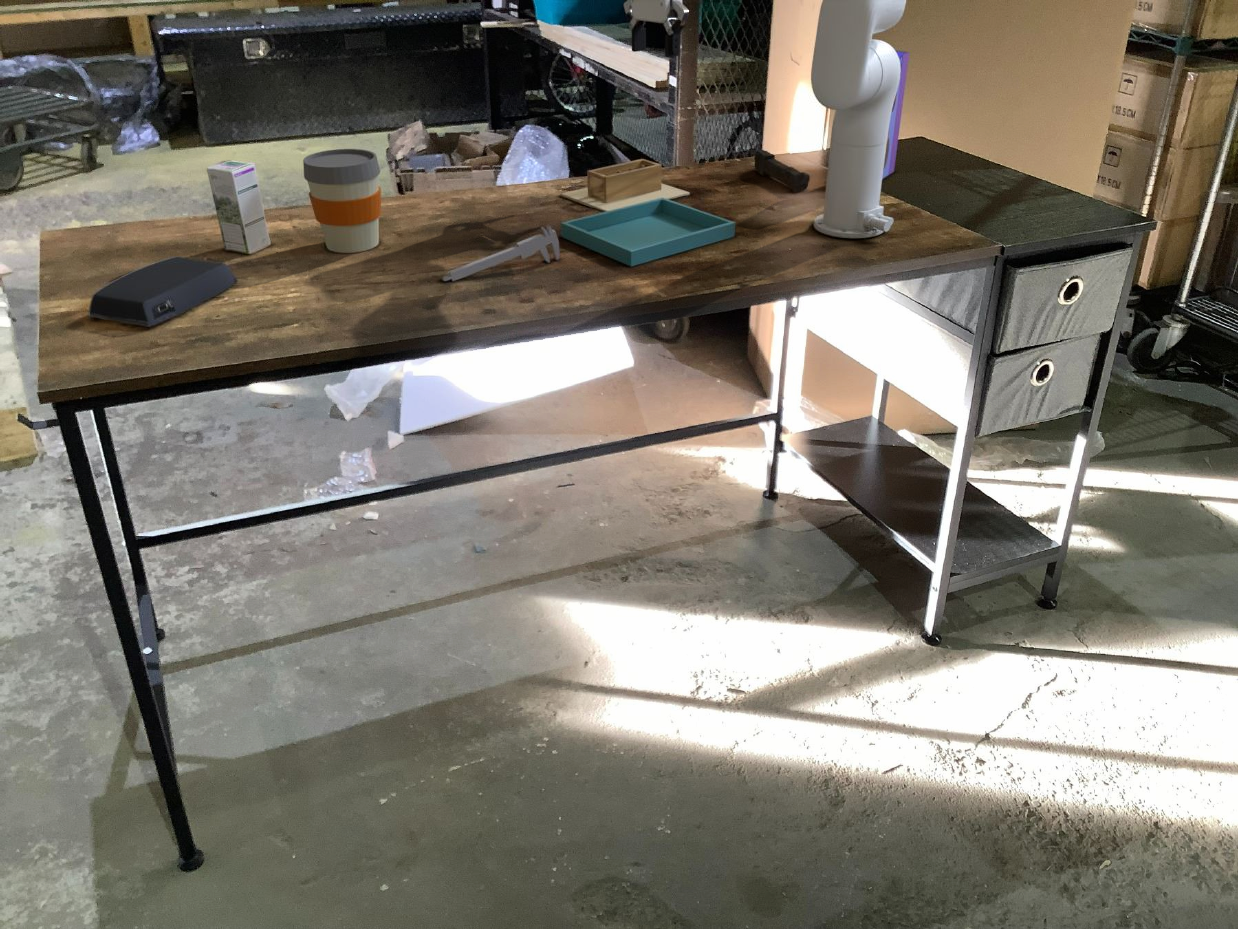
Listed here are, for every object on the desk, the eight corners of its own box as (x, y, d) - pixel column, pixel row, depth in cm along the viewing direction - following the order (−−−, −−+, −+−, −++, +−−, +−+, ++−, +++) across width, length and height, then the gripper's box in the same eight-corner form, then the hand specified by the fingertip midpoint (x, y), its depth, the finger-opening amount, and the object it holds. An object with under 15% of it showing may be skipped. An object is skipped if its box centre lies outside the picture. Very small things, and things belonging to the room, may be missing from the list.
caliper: (557, 259, 171) (555, 222, 168) (560, 261, 170) (558, 224, 167) (442, 280, 163) (438, 242, 160) (444, 283, 162) (440, 245, 159)
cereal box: (863, 192, 203) (877, 64, 190) (840, 188, 205) (853, 62, 193) (893, 171, 215) (909, 50, 203) (872, 168, 217) (886, 48, 205)
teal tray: (734, 237, 180) (735, 222, 179) (631, 267, 168) (631, 251, 166) (662, 211, 193) (662, 197, 192) (561, 237, 181) (560, 222, 179)
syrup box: (272, 244, 179) (256, 161, 171) (248, 255, 174) (231, 170, 167) (247, 240, 181) (230, 158, 173) (223, 251, 176) (204, 166, 169)
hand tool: (809, 191, 203) (811, 168, 201) (791, 193, 202) (793, 170, 200) (766, 168, 219) (768, 146, 216) (749, 170, 218) (751, 147, 215)
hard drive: (85, 318, 151) (77, 292, 149) (178, 274, 166) (172, 250, 164) (154, 331, 147) (147, 304, 145) (242, 285, 162) (237, 260, 160)
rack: (661, 189, 204) (661, 164, 201) (606, 203, 196) (606, 177, 194) (642, 183, 208) (642, 158, 205) (587, 196, 200) (587, 170, 198)
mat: (689, 194, 202) (689, 192, 202) (610, 214, 192) (610, 212, 191) (638, 177, 213) (638, 175, 213) (560, 195, 203) (560, 193, 202)
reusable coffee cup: (403, 243, 179) (393, 156, 171) (342, 261, 171) (328, 171, 163) (361, 227, 186) (350, 144, 178) (301, 245, 178) (286, 158, 171)
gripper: (702, -45, 184) (700, 56, 192) (640, -50, 195) (640, 46, 204) (671, -42, 180) (671, 61, 188) (609, -47, 191) (611, 50, 200)
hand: (655, 53), depth 196 cm, fingers open, 9 cm apart
